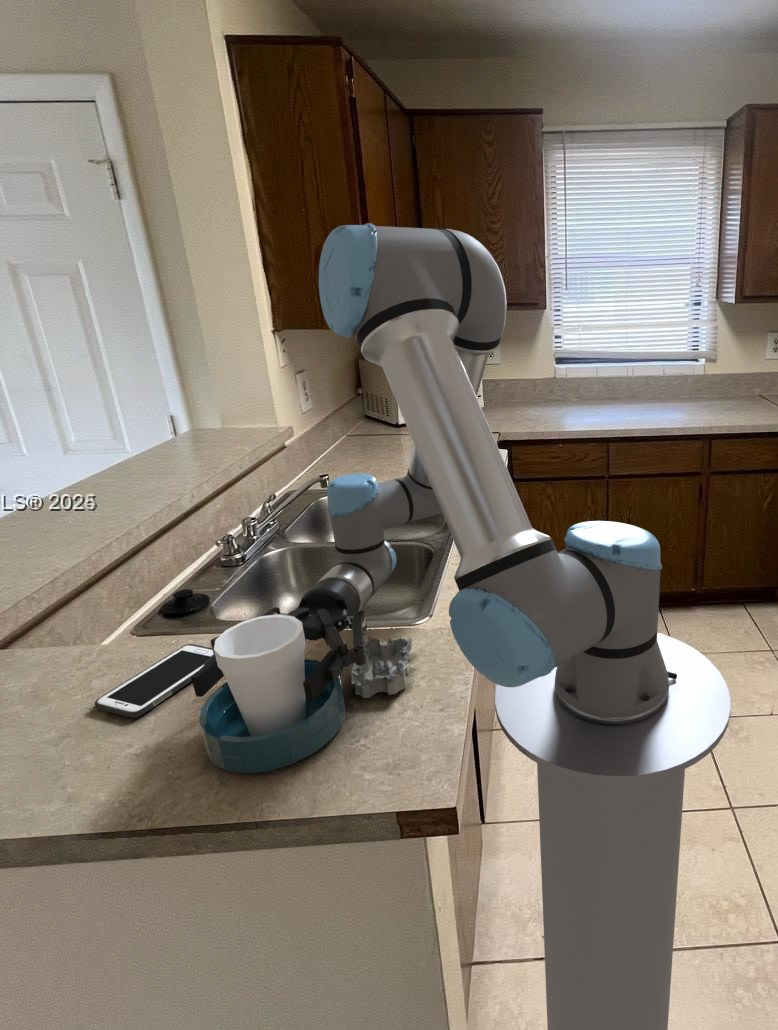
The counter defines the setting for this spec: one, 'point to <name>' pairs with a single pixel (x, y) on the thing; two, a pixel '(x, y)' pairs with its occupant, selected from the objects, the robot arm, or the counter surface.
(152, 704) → the cell phone
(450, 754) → the counter surface
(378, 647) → the egg carton
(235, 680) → the foam cup
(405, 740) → the counter surface
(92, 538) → the counter surface
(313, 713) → the bowl
